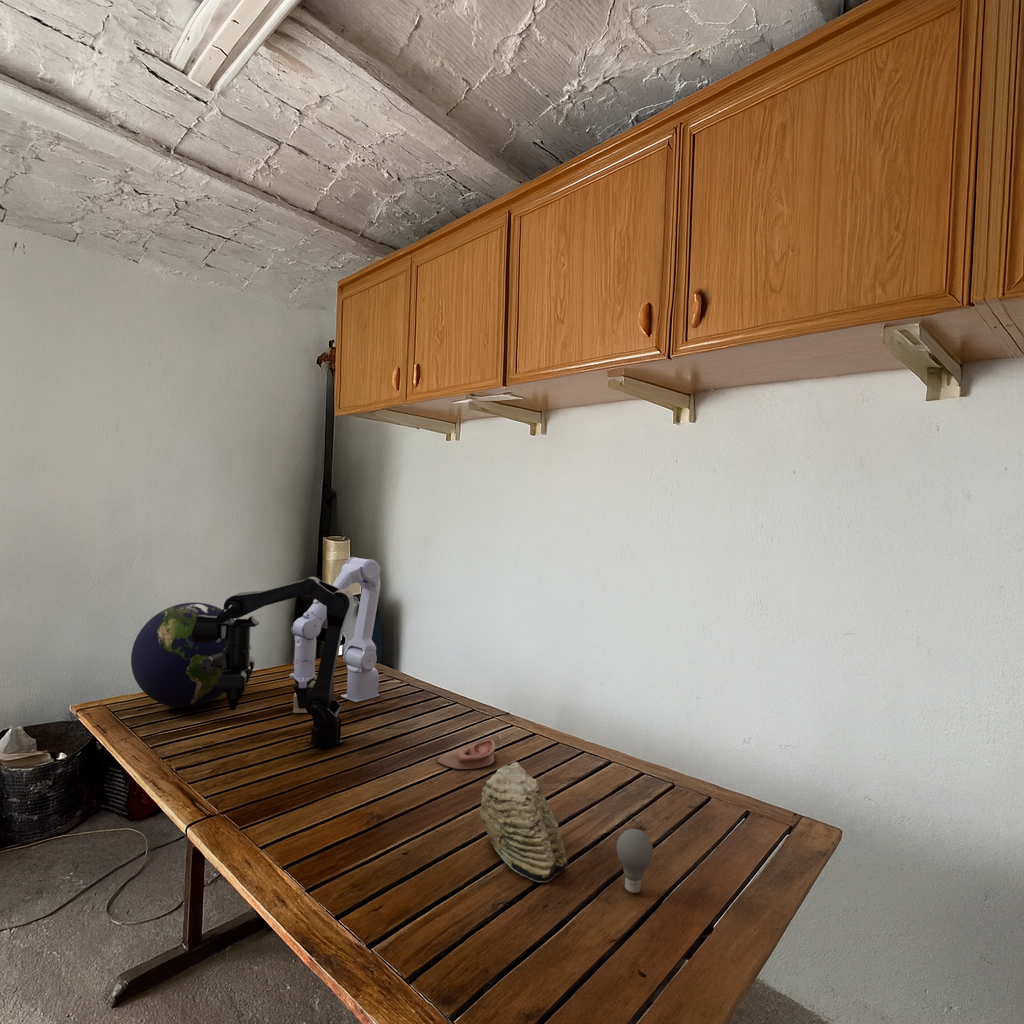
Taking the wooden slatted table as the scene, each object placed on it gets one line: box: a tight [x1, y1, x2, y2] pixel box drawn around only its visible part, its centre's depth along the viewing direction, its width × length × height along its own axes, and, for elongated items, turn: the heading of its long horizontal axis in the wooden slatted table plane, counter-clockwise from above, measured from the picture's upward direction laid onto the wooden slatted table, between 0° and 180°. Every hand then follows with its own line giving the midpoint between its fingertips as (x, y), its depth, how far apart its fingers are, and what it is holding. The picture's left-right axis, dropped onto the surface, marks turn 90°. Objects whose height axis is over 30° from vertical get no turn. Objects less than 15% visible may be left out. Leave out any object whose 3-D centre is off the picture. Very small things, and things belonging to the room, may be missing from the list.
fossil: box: [479, 761, 569, 883], centre depth 114 cm, size 9×18×15 cm, turn 46°
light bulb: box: [615, 828, 654, 894], centre depth 106 cm, size 6×6×10 cm
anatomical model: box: [437, 739, 496, 770], centre depth 155 cm, size 13×4×12 cm
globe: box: [130, 601, 236, 708], centre depth 186 cm, size 30×30×30 cm
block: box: [292, 692, 308, 714], centre depth 184 cm, size 4×5×5 cm
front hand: (235, 704), depth 160 cm, fingers open, 9 cm apart
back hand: (303, 705), depth 184 cm, fingers closed on block, 4 cm apart
